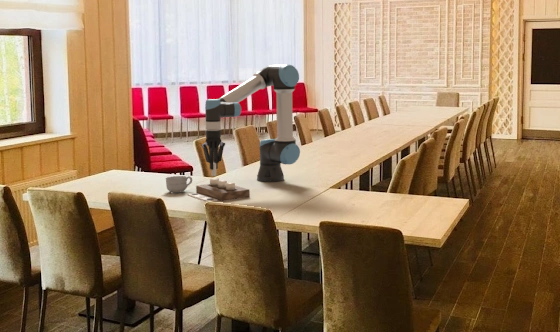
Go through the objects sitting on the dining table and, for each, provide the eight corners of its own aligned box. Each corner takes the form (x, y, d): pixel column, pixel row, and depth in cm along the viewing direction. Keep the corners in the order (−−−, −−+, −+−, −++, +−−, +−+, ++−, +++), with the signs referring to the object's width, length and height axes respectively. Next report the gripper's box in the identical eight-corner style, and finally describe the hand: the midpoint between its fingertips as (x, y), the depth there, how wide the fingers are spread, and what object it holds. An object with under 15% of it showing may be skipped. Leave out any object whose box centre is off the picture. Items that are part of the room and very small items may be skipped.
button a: (216, 183, 378) (216, 177, 377) (220, 184, 374) (220, 179, 374) (208, 184, 375) (208, 178, 375) (212, 185, 371) (212, 180, 371)
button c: (232, 188, 365) (231, 182, 364) (236, 189, 361) (236, 183, 360) (224, 189, 362) (223, 183, 362) (228, 190, 358) (228, 184, 358)
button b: (224, 185, 371) (223, 180, 371) (228, 187, 367) (228, 181, 367) (216, 186, 369) (215, 180, 368) (220, 188, 365) (220, 182, 364)
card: (196, 194, 373) (196, 192, 373) (217, 200, 355) (217, 199, 355) (187, 195, 370) (187, 193, 370) (208, 202, 352) (208, 200, 352)
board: (223, 189, 384) (223, 182, 383) (249, 197, 363) (249, 189, 362) (196, 193, 375) (196, 185, 374) (221, 201, 354) (221, 193, 353)
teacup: (167, 194, 372) (166, 179, 371) (165, 190, 383) (164, 175, 382) (194, 192, 376) (194, 177, 375) (191, 189, 386) (191, 174, 385)
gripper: (220, 128, 377) (221, 173, 380) (198, 129, 370) (199, 175, 373) (228, 129, 371) (228, 175, 374) (205, 131, 364) (206, 177, 367)
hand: (213, 175), depth 374 cm, fingers closed
